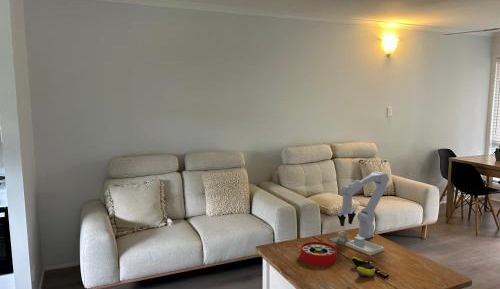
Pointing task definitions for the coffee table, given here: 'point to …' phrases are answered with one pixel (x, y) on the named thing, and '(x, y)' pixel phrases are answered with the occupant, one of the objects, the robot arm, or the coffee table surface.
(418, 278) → the coffee table surface
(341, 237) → the birch block
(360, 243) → the blue-grey block
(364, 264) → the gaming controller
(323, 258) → the toy clock
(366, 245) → the tray
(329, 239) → the mat
